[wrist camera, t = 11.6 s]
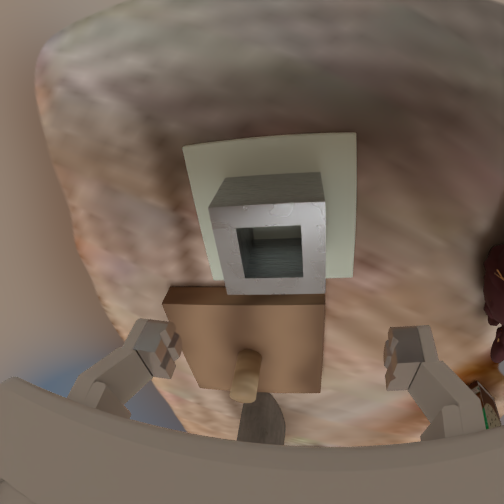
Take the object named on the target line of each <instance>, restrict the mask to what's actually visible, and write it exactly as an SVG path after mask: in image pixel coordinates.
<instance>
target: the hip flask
mask: <svg viewBox="0 0 504 504" xmlns="http://www.w3.org/2000/svg"><path fill="white" fill-rule="evenodd" d="M284 438H285V422H284V418H283V415H282V412H281V410H280V408H279V406H278V404H277V402H276V401H275V399H274V398H273V396H272V395H271V394H269V393H266V392H257V394H256V400H255V401H254V402H252V403H244V404H243V409H242V415H241V420H240V426H239V431H238V436H237V441H243V442H252V443H261V444H273V445H284Z"/></svg>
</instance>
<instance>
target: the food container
mask: <svg viewBox="0 0 504 504" xmlns="http://www.w3.org/2000/svg"><path fill="white" fill-rule="evenodd" d="M468 387H469V388H470V389H471V390H472V391H473V392H474V394H475V395H476V396H477V397H478V398H479V399H480V401H481V406H482V411H483V416H484V421H485V427H486V429H490V428H494V427H498V426H502V425H501V421H500V418H499V414H498V411H497V407H496V404H495V401H494V398H493V397H492V396H491V395H490V394H489V393H488V392H487V390H486V389H485V388H484V387H483V386H482V385H481V384H480V383H479V382H478V381H475V382H474V383H472V384H471V385H469V386H468Z"/></svg>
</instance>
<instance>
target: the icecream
mask: <svg viewBox="0 0 504 504" xmlns="http://www.w3.org/2000/svg"><path fill="white" fill-rule="evenodd" d="M484 267H485V269H486V272H485V276H484V280H485V281H484V290H483V292H484V298H485V301H486V302H485V306H484V311H485V312H486V313H487V315H488V323H489V324H490V325H493V326H497V325H498V324H499V323H500V324H502V327H499V328H498V329H497V332H496V338H495V340H494V342H493V345H492V348H491V359H492V361H494V362H496V363H500V362H502V361H503V360H504V244H503V245H496V246H493V247H492V248H491V250H490V252H489V255H488V257H487V259H486V260H485V262H484Z"/></svg>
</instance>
